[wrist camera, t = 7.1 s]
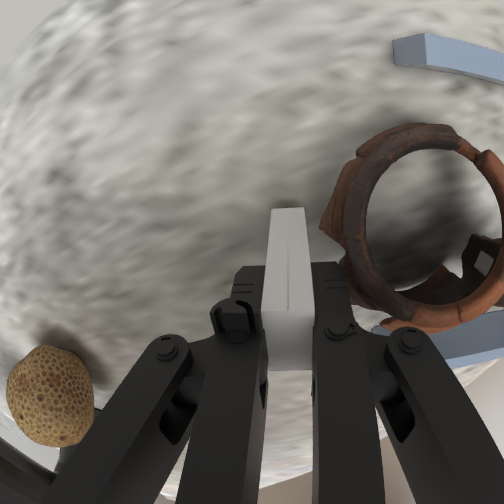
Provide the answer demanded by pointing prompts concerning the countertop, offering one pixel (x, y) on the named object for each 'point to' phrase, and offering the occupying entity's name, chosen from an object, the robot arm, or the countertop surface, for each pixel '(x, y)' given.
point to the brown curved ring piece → (442, 280)
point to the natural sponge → (51, 396)
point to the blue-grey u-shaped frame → (490, 69)
